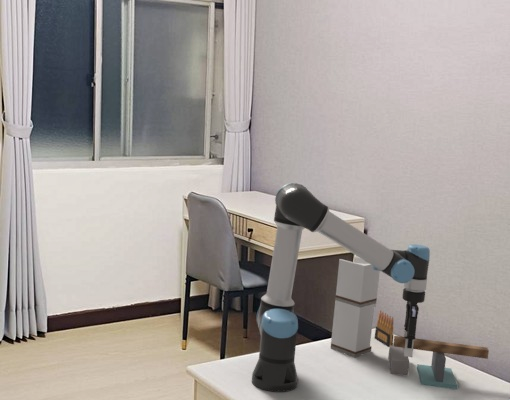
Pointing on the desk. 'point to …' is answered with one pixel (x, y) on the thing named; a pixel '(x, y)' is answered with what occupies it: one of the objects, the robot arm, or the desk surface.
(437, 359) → the stand
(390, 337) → the ammunition clip
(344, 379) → the desk surface
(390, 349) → the riser block
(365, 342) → the tall open-top box
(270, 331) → the robot arm
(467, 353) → the walnut rod
